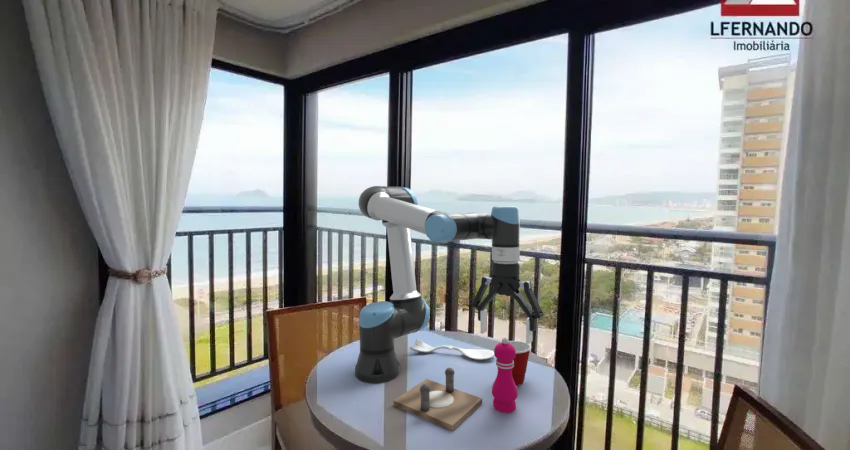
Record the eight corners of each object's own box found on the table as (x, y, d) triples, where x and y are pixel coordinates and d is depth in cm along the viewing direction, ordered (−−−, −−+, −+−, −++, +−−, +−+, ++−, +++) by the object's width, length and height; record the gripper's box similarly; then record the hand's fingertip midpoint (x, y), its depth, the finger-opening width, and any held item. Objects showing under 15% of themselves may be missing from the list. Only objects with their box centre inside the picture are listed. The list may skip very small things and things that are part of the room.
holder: (393, 405, 104) (393, 376, 103) (426, 383, 116) (426, 357, 116) (452, 431, 92) (452, 398, 91) (482, 403, 104) (482, 375, 104)
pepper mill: (518, 415, 98) (518, 343, 97) (491, 412, 100) (491, 341, 99) (517, 401, 105) (517, 334, 104) (491, 399, 107) (492, 332, 106)
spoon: (416, 346, 148) (416, 338, 148) (495, 355, 139) (495, 346, 139) (409, 355, 139) (408, 346, 139) (493, 365, 130) (493, 355, 130)
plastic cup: (506, 370, 125) (506, 336, 125) (536, 379, 118) (536, 343, 118) (490, 382, 117) (490, 346, 116) (522, 393, 110) (522, 354, 109)
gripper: (460, 259, 105) (460, 332, 106) (546, 267, 90) (545, 351, 91) (472, 256, 111) (473, 325, 112) (555, 263, 96) (555, 342, 97)
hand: (505, 337), depth 101 cm, fingers open, 13 cm apart
